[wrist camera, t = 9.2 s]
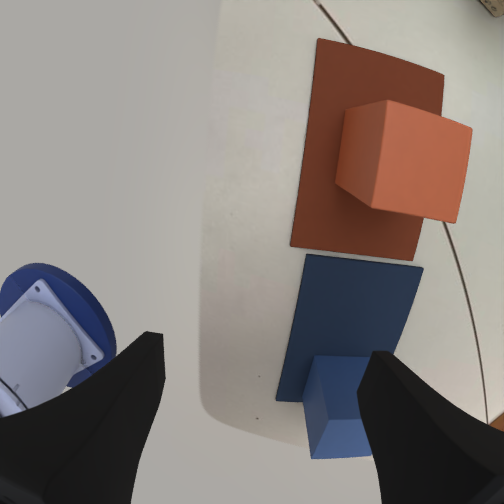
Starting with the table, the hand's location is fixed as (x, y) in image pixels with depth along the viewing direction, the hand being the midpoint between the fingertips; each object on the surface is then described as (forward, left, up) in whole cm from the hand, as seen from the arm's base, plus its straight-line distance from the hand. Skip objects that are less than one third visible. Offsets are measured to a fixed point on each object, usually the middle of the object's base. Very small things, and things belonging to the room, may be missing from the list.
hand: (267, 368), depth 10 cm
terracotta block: (+9, +2, -9) cm, 13 cm away
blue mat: (+2, -8, -9) cm, 12 cm away
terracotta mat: (+9, +2, -9) cm, 13 cm away
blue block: (0, -11, -9) cm, 14 cm away
